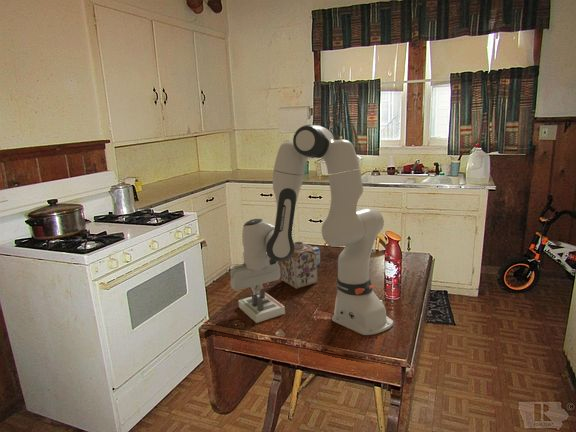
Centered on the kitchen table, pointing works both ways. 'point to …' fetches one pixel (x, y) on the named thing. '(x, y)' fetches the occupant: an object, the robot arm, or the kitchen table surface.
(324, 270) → the kitchen table surface
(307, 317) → the kitchen table surface
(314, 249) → the medicine box
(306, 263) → the decorative jar
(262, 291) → the breaker handle
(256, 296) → the breaker box
